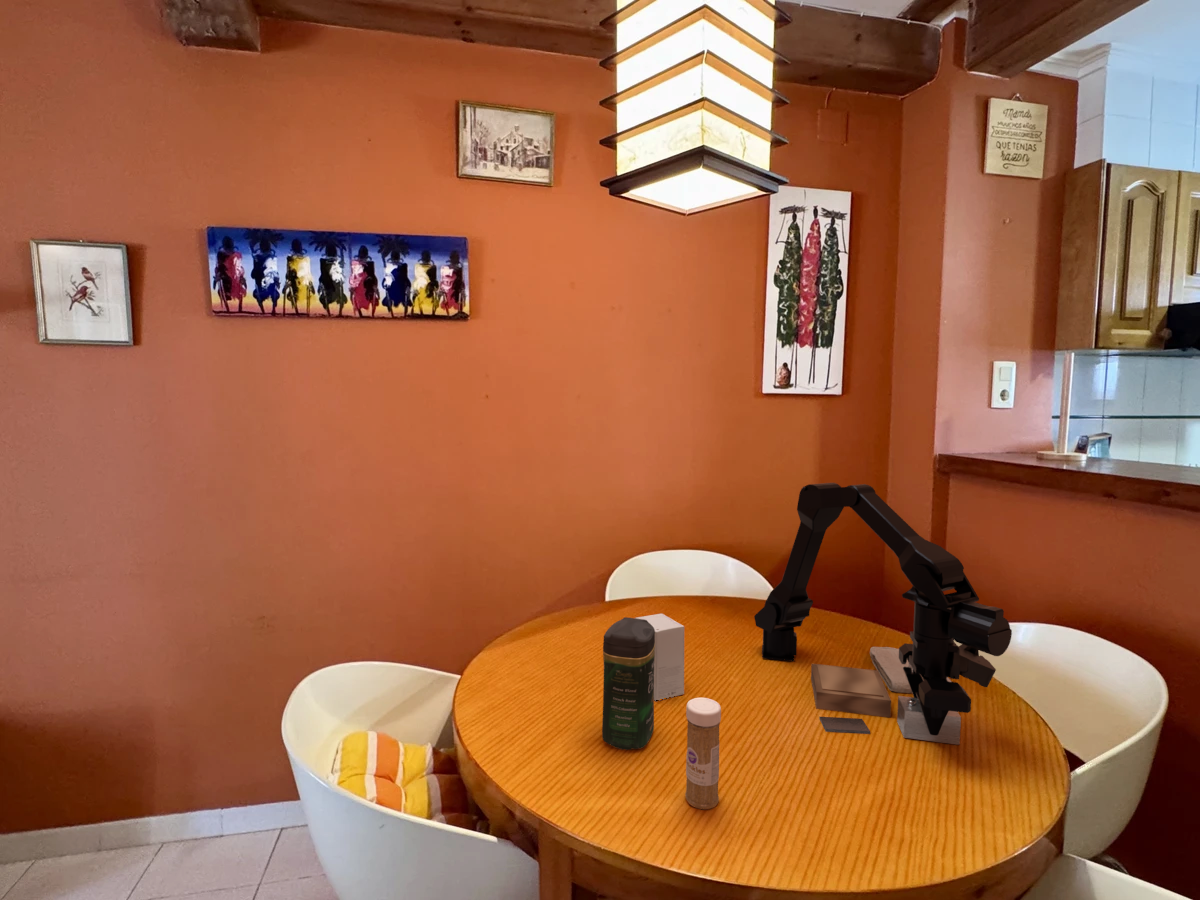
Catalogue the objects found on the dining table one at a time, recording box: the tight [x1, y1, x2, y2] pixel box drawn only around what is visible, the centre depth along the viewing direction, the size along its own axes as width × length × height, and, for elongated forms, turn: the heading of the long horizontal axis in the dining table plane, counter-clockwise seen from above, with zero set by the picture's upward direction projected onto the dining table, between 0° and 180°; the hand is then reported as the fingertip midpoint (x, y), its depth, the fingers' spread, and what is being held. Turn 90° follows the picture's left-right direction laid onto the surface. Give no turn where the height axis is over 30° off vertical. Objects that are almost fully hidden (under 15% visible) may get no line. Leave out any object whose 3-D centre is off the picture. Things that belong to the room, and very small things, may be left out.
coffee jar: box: [601, 616, 655, 751], centre depth 97 cm, size 10×8×19 cm
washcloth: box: [869, 646, 953, 694], centre depth 120 cm, size 12×18×3 cm, turn 171°
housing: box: [896, 695, 962, 746], centre depth 98 cm, size 8×5×6 cm, turn 75°
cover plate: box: [818, 716, 871, 735], centre depth 100 cm, size 7×4×1 cm, turn 84°
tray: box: [810, 663, 892, 718], centre depth 110 cm, size 12×12×3 cm
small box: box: [635, 613, 685, 702], centre depth 113 cm, size 8×6×13 cm
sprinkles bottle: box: [684, 697, 722, 810], centre depth 81 cm, size 5×5×14 cm
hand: (929, 725), depth 98 cm, fingers closed on housing, 5 cm apart
